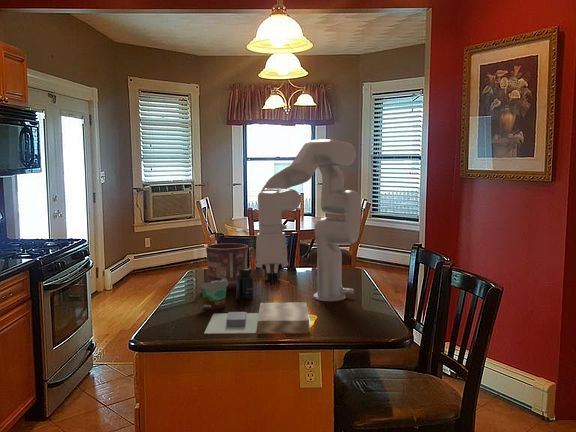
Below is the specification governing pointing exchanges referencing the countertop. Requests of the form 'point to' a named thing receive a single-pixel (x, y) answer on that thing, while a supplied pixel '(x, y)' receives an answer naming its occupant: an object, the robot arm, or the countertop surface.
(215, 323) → the mat
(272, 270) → the candle
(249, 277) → the supplement bottle
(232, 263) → the pottery
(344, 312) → the countertop surface
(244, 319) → the grey flat block
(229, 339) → the countertop surface
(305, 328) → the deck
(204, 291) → the food container
